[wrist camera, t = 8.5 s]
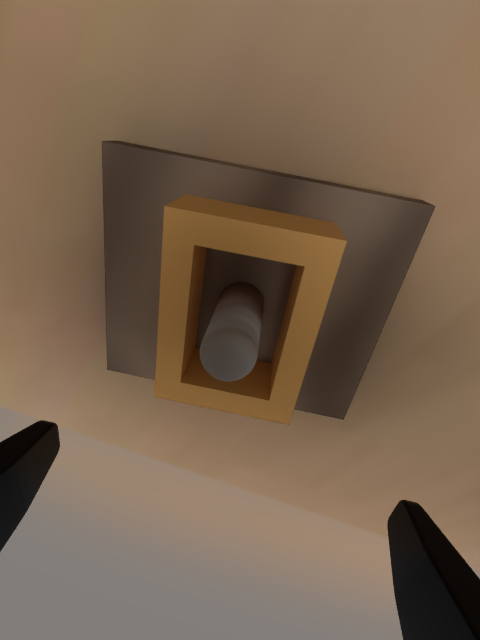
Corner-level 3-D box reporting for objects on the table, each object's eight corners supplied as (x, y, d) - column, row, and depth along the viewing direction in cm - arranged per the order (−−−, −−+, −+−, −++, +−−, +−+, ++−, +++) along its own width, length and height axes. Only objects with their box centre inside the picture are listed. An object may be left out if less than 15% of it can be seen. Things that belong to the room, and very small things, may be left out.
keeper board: (422, 200, 15) (517, 242, 9) (339, 401, 21) (363, 513, 15) (117, 140, 16) (4, 141, 9) (118, 355, 21) (48, 444, 15)
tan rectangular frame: (335, 222, 15) (346, 240, 12) (288, 385, 19) (288, 424, 16) (185, 194, 15) (164, 206, 12) (172, 361, 19) (154, 397, 16)
